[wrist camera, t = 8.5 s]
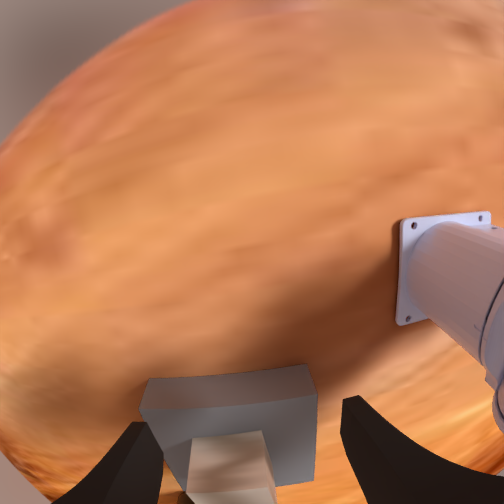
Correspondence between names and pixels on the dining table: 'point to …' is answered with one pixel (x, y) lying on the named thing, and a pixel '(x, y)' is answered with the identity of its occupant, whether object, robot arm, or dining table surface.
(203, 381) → the charcoal box
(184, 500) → the supplement bottle
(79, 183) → the dining table surface
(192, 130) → the dining table surface
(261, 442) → the birch block
